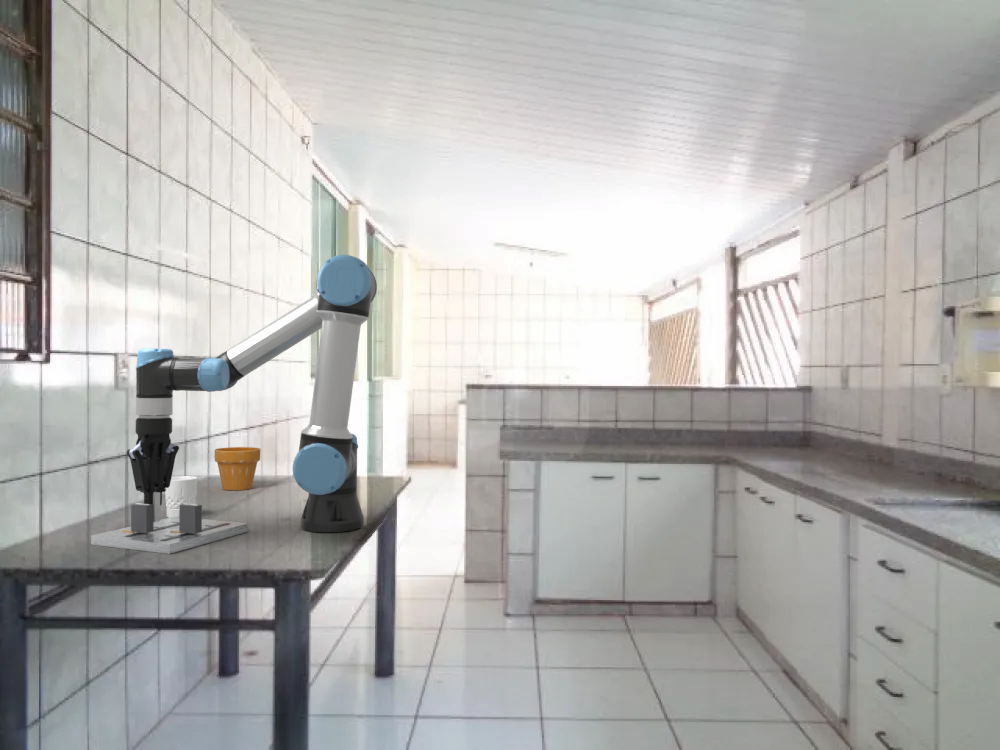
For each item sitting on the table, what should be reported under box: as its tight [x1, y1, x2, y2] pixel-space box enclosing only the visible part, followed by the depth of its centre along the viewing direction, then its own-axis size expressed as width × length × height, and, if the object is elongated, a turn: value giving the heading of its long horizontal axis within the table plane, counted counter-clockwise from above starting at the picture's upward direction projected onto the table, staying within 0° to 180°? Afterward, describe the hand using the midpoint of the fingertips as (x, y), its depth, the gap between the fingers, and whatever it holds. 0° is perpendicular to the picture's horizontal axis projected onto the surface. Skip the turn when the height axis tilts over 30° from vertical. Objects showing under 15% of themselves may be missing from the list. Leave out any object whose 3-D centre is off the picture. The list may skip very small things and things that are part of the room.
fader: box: [179, 503, 203, 534], centre depth 165 cm, size 4×2×6 cm, turn 69°
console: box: [90, 516, 249, 555], centre depth 169 cm, size 22×24×2 cm
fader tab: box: [130, 502, 154, 533], centre depth 165 cm, size 4×2×6 cm, turn 69°
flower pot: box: [214, 446, 262, 491], centre depth 243 cm, size 14×14×13 cm
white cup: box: [164, 475, 198, 518], centre depth 195 cm, size 8×8×10 cm
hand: (152, 521), depth 168 cm, fingers closed
